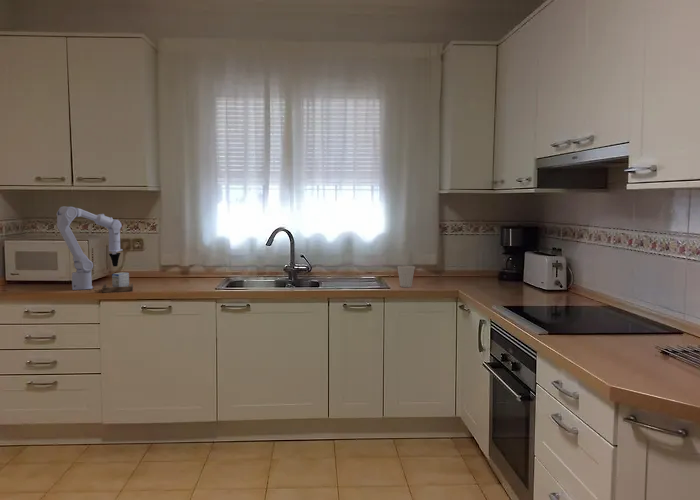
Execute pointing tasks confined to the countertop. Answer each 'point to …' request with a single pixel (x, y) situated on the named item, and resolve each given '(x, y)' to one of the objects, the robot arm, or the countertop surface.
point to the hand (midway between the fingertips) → (115, 266)
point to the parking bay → (117, 289)
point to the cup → (406, 275)
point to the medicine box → (120, 279)
